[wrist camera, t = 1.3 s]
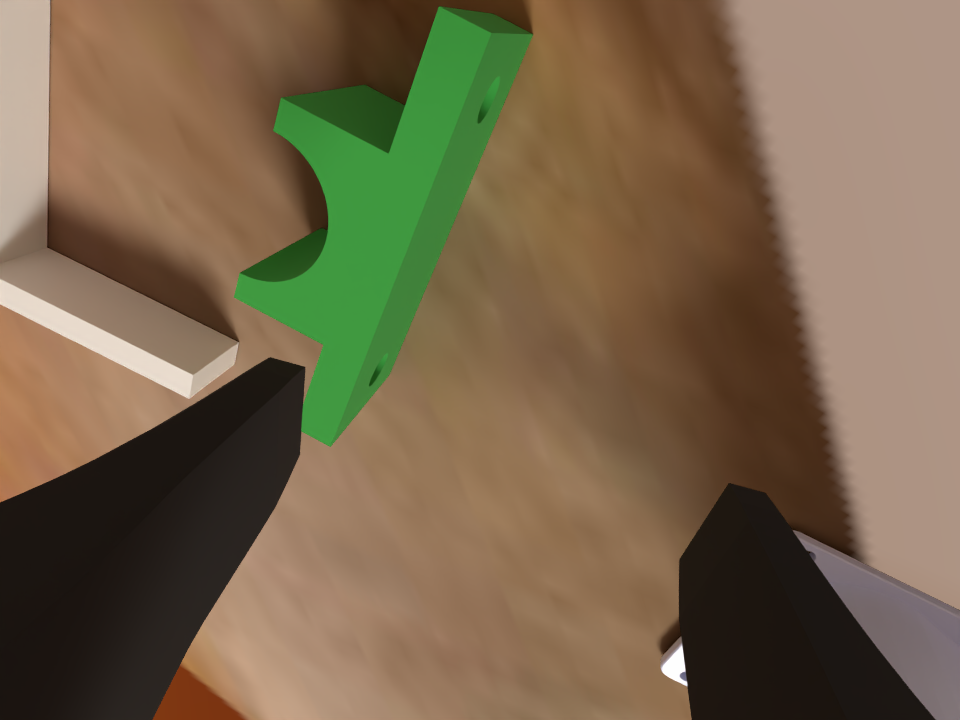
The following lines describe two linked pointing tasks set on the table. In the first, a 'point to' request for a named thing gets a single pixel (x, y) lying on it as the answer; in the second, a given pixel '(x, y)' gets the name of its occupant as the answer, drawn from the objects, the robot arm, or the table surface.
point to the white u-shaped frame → (58, 279)
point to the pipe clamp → (382, 206)
